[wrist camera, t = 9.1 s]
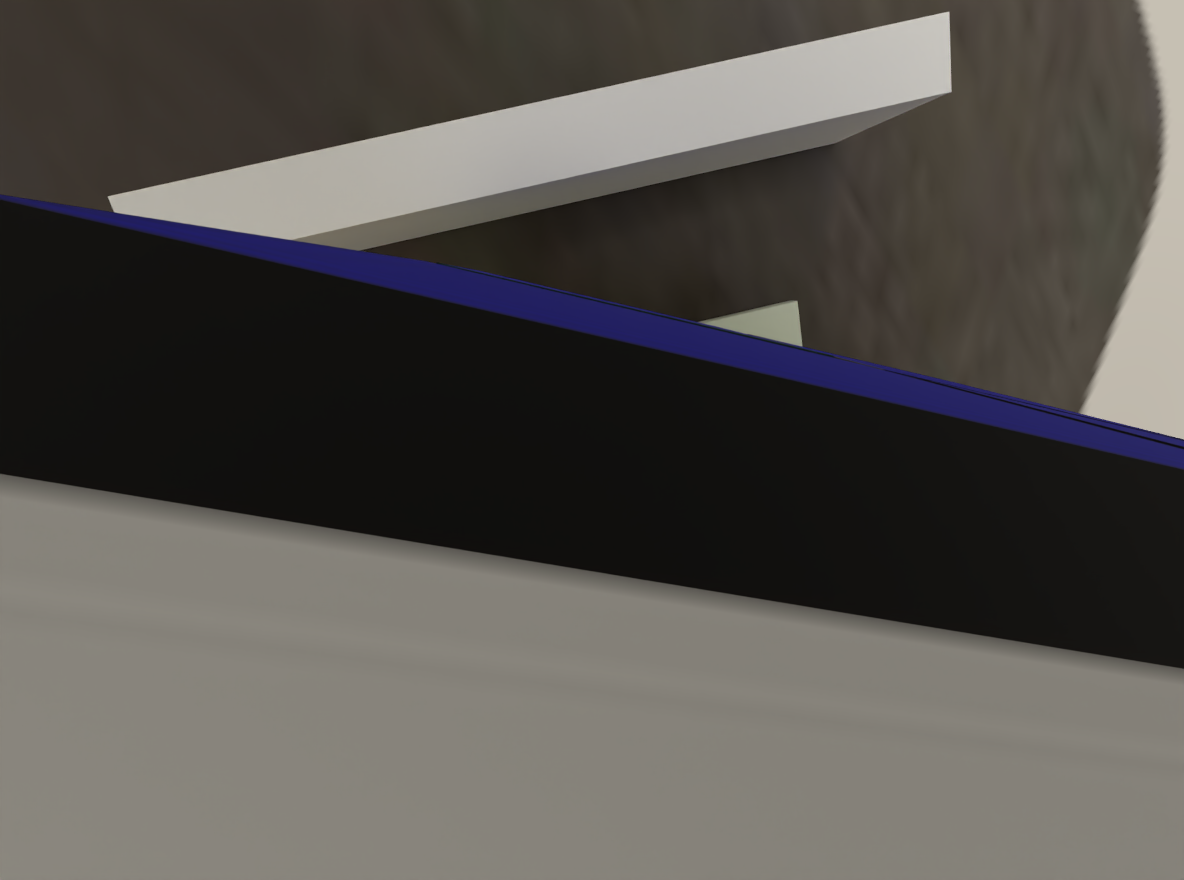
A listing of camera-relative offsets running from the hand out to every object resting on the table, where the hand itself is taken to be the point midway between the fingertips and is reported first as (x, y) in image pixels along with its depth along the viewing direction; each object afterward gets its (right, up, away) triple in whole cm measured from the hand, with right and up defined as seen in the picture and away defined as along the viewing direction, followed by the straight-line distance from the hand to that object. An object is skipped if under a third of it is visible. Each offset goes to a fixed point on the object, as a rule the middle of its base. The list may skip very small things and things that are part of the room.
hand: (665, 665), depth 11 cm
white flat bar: (-3, +10, +2) cm, 11 cm away
